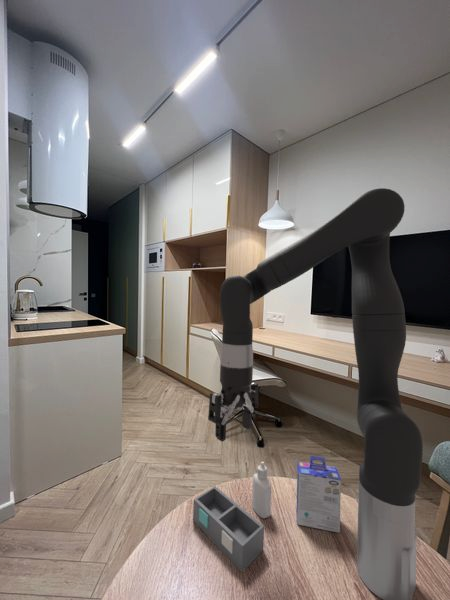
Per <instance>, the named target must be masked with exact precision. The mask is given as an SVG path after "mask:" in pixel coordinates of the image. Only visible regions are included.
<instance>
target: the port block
mask: <svg viewBox="0 0 450 600" xmlns="http://www.w3.org/2000/svg"><path fill="white" fill-rule="evenodd" d="M192 522H194V523H195V524H196V525H197V526H198V528H199V529H200V530H201V531H202V532H203V533H204V534H205V535H206V537H208V538H209V539H210V540H211V541H212V543H214V545H215V546H216V547H217V548H218V549H219V550H220V551H221V553H223V554H224V555H225V556H226V557H227V559H228V560H229V561H230V562H231V563H232V564H233V565H234V566H235V567H236V568H237V569H238V570H239V571H240V572H241V573H243V572H244V571H245V569H247V568H248V567H249V566H250V564H252V562H253V561H254V560H255V559H256V558H257V557H258V556H259V555H260V554H261V553H262V552H263V551H264V538H265V526H264V524H262V523H261V522H260V521H258V520H257V519H256V518H255V517H254V516H252V515H251V514H250V513H248V512H247V511H246V510H245V508H244V507H243V508H242V506H240V505H239V504H237V502H235V501H234V500H233V499H231V498H230V497H229V496H228V495H227V494H225V493H224V492H223V491H222V490H221V489H219V488H218V487H217V486H216V485H214V486H213V487H211V488H209V489H207V490H206V491H204V492H203V493H202V494H200V495H198V496H196V497H195V498H194V499H193V511H192Z"/></svg>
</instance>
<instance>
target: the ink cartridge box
mask: <svg viewBox="0 0 450 600" xmlns="http://www.w3.org/2000/svg"><path fill="white" fill-rule="evenodd" d="M317 460H318V461H319V462H322V464H320V463H315V462H313V461H317ZM296 463H297V466H296V467H297V471H296V472H297V473H296V509H295V515H296V516H295V517H296V524H297V525H298V526H302V527H303V526H304V527H309V528H312V529H313V528H314V529H320V530H323V531H329V532H334V533H338V534H340V533H341V494H342V492H341V491H342V478H341V476H340V474H339V470H338V468H337V466H331V465H327V464H326V458H325V457H321V456H315V455H310V456H309V462H304V461H303V462H301V461H297V462H296Z"/></svg>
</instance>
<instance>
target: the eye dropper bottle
mask: <svg viewBox="0 0 450 600" xmlns="http://www.w3.org/2000/svg"><path fill="white" fill-rule="evenodd" d="M251 494H252V496H251V497H252V498H251V506H252V508H253V510H254V512H255V513H256V515H258V516H259V517H260V518H262V519H266V518H269V517H270V516H271V513H272V512H271V509H272V507H271V504H272V502H271V501H272V484H271V482H270V479H269V478H268V468H267V466H266V465H265V461H261V462H260V465H258V466H257V472H256V473H254V474H253V477H252V493H251Z"/></svg>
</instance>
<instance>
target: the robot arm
mask: <svg viewBox="0 0 450 600" xmlns="http://www.w3.org/2000/svg"><path fill="white" fill-rule="evenodd" d="M404 214H405V201H404V199H403V197H402V196H401V195H400V194H399V193H398V192H396V191H395V190H393V189H390V188H380V187H379V188H375V189H372V190H371V189H370V190H369V191H366V192H364V193H363V194H361V195H360V196H359V197H358V198H356V199H355V200H354V201H352V203H350V204H349V205H348V206H347V207H345V208H344V209H343V210H341V211H340V212H339V213H338V214H337V215H335V216H334V217H332V218H331V219H330V220H328V221H327V222H325V223H323V225H320V226H319V227H318V228H316V229H314V230H313V231H312V232H310V233H308V234H307V235H305V236H303V237H302V238H299V240H296V241H295V242H293V243H292V244H291V243H290V245H288V246H286V247H284V248H282V249H280V250H279V251H277V252H275V253H274V254H272V255H270V256H268V257H267V258H265V259H264V260H262V261H261V262H259V263H258V264H257V267H256V268H254V269H253V270H252V271H250V272H249V273H246V274H245V275H242V276H241V275H236V274H235V275H231V276H228V277H227V278H226V279H225V280H224V281H223V282H222V284H221V287H220V292H219V304H220V311H221V319H222V333H221V334H222V335H221V336H222V337H221V338H222V342H221V348H220V349H221V350H220V365H219V382H220V385H221V390H220V392H218V393H216V392H214V391H213V392H210V394H209V404H208V416H207V419H208V421H209V422H212V423H213V424H215V430H214V431H215V433H214V434H215V438H216V439H217V440H218V441H220V442H224V441H226V439H227V438H226V437H227V435H226V434H227V424H226V422H227V421H228V419H229V417H230V416H232V415H233V412H234V410H237V409H238V408H242V414H241V415H242V418H241V419H242V420H241V424H242V427H243V428H245V429H246V430H250V429H251V428H252V424H253V423H252V421H253V413H254V409H258V408H259V384H258V383H256V382H253V377H254V376H253V373H254V371H253V370H254V369H253V368H254V347H253V340H254V339H253V336H254V335H253V333H254V330H253V328H254V327H253V322H252V320H251V304H253V303H254V302H257V301H258V300H260V299H261V298H263V297H264V296H265V295H267V294H269V293H270V292H272V291H274V290H276V289H278V288H280V287H282V286H284V285H286V284H288V283H289V282H291V281H293V280H295V279H297V278H299V277H300V276H302V275H305V273H307V272H308V271H310V270H311V269H313V268H315V267H316V266H318V265H320V263H322V262H323V261H325V260H327V259H328V258H330V257H331V256H333V255H335V254H336V253H338V252H340V251H341V250H343V249H345V248H348V250H349V251H348V252H349V257H350V264H351V314H352V315H351V317H352V332H353V339H354V340H353V341H354V349H355V350H354V351H355V357H356V358H355V359H356V364H357V370H358V371H357V372H358V395H357V407H356V408H357V409H356V410H357V411H356V415H357V416H356V420H357V424H358V428H359V430H360V432H361V434H362V435H363V438H364V454H363V455H364V457H363V458H364V459H363V462H362V463H361V464H360V465H359V467H358V469H359V470H358V471H359V472H358V503H357V504H358V506H357V538H356V539H357V541H356V543H357V544H356V548H357V549H356V569H357V573H358V575H359V578H360V579H361V581H362V582H363V583H364V585H365V587H367V589H368V590H370V591H371V592H372V593H373V595H375V596H376V597H378V598H380V599H381V600H413V598H414V594H415V591H416V587H417V546H418V544H417V543H418V542H417V541H418V538H417V537H418V536H417V534H416V533H415V526H416V525H415V523H416V522H415V519H416V513H415V512H416V493H417V492H418V490H419V488H420V487H421V486H420V485H421V479H422V467H423V453H424V452H423V451H424V449H423V448H424V447H423V445H424V444H423V436H422V433H421V431H420V429H419V426H418V425H417V424H416V422H414V420H413V419H412V418H410V416H409V415H407V413H405V411H404V410H403V408H402V403H401V398H400V392H399V391H400V390H399V383H398V381H399V380H398V375H399V369H400V365H401V361H402V358H403V355H404V351H405V347H406V343H407V342H406V340H407V326H406V313H405V306H404V305H405V304H404V301H403V296H402V294H401V291H400V288H399V286H398V283H397V281H396V279H395V276H394V274H393V272H392V271H393V270H392V268H391V267H392V266H391V261H390V260H391V259H390V236H391V233H392V232H393V231H394V230H395V229H396V228H397V227H398V225H399V224H400V223H401V221H402V219H403V217H404ZM225 407H226V408H225Z"/></svg>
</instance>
